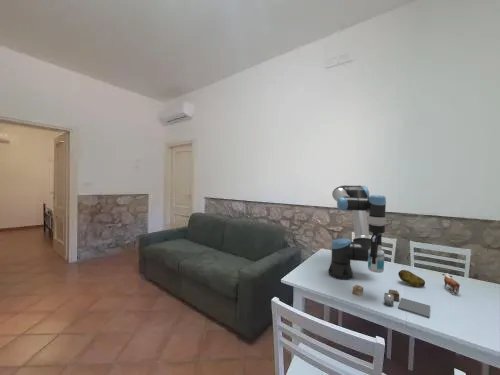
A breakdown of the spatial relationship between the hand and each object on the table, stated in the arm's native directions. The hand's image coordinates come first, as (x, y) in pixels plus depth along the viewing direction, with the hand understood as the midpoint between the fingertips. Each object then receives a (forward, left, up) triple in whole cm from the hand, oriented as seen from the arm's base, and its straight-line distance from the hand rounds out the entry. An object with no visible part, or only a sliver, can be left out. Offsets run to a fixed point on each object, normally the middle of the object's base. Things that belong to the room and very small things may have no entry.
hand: (375, 267), depth 123 cm
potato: (+13, +31, -16) cm, 37 cm away
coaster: (+17, +1, -16) cm, 23 cm away
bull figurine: (+31, +37, -16) cm, 51 cm away
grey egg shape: (+7, -4, -16) cm, 18 cm away
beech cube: (-8, -2, -16) cm, 18 cm away
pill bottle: (0, 0, -2) cm, 2 cm away
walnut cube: (+8, +4, -16) cm, 19 cm away
